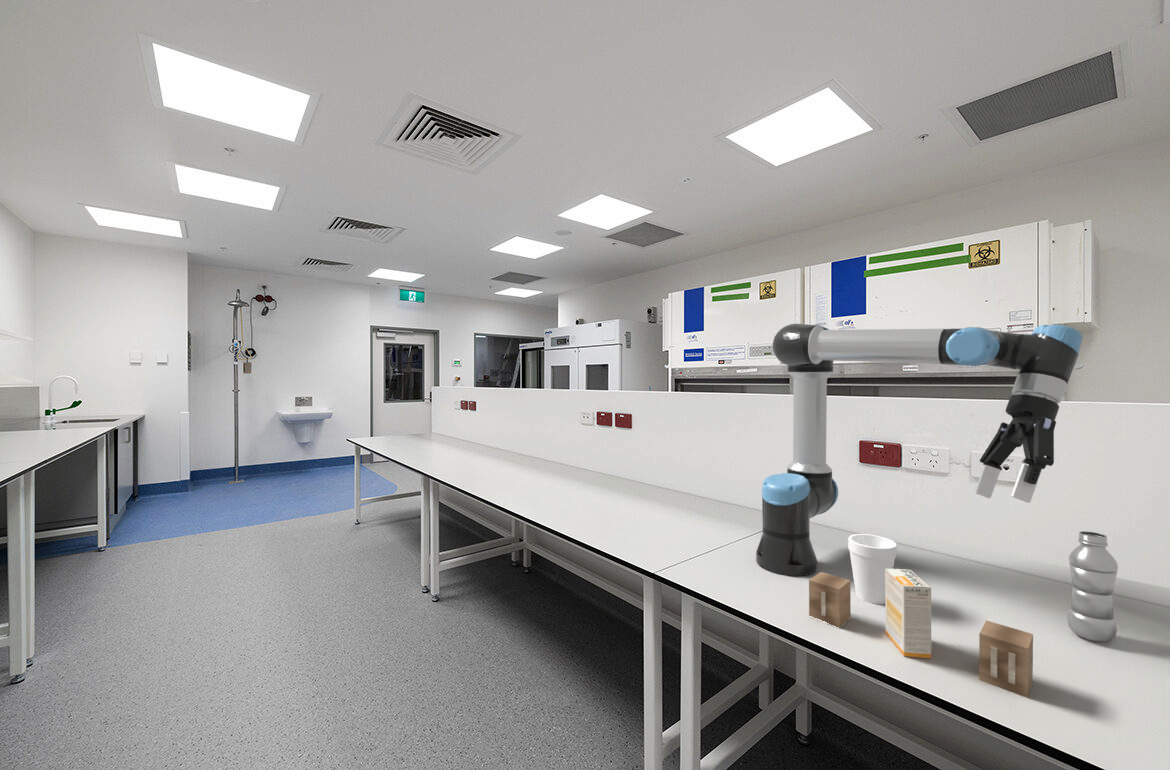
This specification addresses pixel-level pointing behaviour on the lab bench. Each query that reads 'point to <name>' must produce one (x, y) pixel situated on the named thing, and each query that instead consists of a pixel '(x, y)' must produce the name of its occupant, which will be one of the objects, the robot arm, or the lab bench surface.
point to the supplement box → (908, 612)
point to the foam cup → (871, 565)
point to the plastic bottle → (1092, 588)
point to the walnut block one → (829, 599)
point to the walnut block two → (1006, 658)
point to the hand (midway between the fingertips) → (1000, 497)
